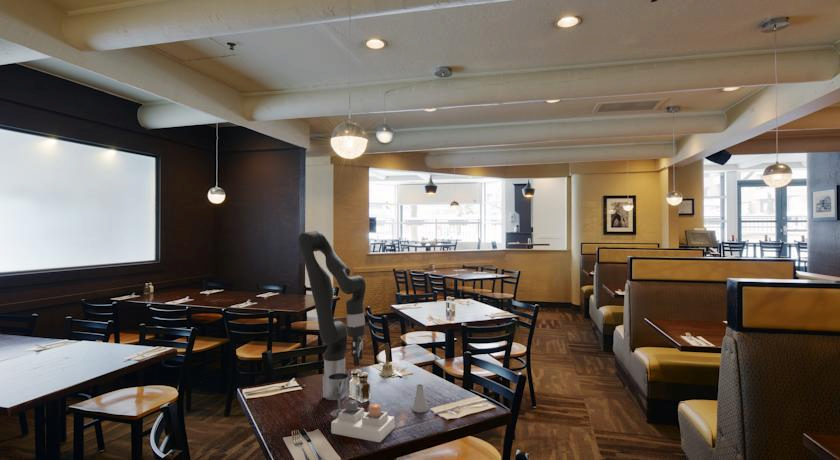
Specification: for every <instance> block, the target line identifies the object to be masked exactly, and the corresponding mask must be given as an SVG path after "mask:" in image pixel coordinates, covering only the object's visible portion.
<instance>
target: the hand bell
mask: <svg viewBox="0 0 840 460" xmlns="http://www.w3.org/2000/svg"><path fill="white" fill-rule="evenodd" d="M389 343H390V342H389ZM389 343H388V342H386V343H385V346H384V353H385V362H384V363H382V369H381V370H380V372H379V374H380V375H379V376H380V377H383V376H384V377H383V378H389V377H388V376H391V375H392V374H393V373H394V372H395V371H394V368H393V364H392V363H391V362H390V353H391V352H390V351H391V349H390V345H389ZM391 377H392V376H391Z"/></svg>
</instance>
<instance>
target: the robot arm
mask: <svg viewBox="0 0 840 460" xmlns="http://www.w3.org/2000/svg"><path fill="white" fill-rule="evenodd" d="M297 241H298V247H299V250H300V253H301V256H302V260H303V262H304V265H305V268H306V269H305V270H306V272H307V273H306V274H307V275H308V276H307V277H308V281H309V286H310V291H311V294H312V297H313V302H314V307H315V311H316V316H317V323H318V332H319V335H320V339H321V341H322V342H323V344H324V345H326V346H327V347H326V350H325V351H324V352H323V353H324V354H323V362H324V363H323V367H324V370H323V371H324V372H323V373H324V375H322V398H324V399H326V400H327V401H337V398H336V396H335V395H334V394H333V393H332V392H331V390H330V387H329V376H330V375H331V374H335V373H346V352H347V349H348V347H347V346H348V337H349V338H352V340H351V342H350V348H351V349H350V350H351V351H350V353H351V357H352V358H353V359H352V360H353V366H354V367H359V366H360V361H361V360H363V358H364V354H363V351H364V337H363V336H365V335H366V334H367V333H366V332H367V331H366V320H365V314H364V299H365V293H366V280H365V279H364V278H363V276H361V275H354V276H350V274H351V269H350V267H348V265H347V264H346V263H344V261H343V260H342V259H341V258H340V257H339V256H338V255H337V253H336V251H335V250H334V248H333V247H332V245H331V244H330V242H329V241H328V239H327V236H325V235H324V233H322V232H321V231H319V230H315V231H305V232H302V233H300V234H299V236H298V240H297ZM314 252H321V253H322V254H323V255H324V257H325V258H324V259H325V265H326V266H325V267H326V269H327V270H328V271H329V273H330V274H331V275H332V276H333V277H334V278H335V280H336V282H337V284H338V287H339V289H340V290H341V292H342V293H344V294H346V295H352V296H351V297H350V298H349V299H347V300H346V302H345V306H346V308H345V309H346V325H345V324H344V322H342V321H340V320H335V321H334V317H333V311H332V310H333V309H332V307H333V300H334V289H333V284H332V280H331V277H330V276H329V274H328V273H327V272H326V270H324V268H323V267H321V264H319V262H318V261H317V259H316V257H315V253H314ZM346 392H347V390H346V391H345V393H344V394H343V395H342V397H341V400H343V399H344V398H345V397H346V396H347V393H346Z"/></svg>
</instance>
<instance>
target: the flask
mask: <svg viewBox="0 0 840 460" xmlns="http://www.w3.org/2000/svg"><path fill="white" fill-rule="evenodd" d="M424 386H425V385H424V384H423V383H418V384H416V385H415V388H416V392H415V397H414V400H413V403H412V406H411V411H412V412H415V413H418V414H419V413H427V412H428V411H429V406H428V403H427V400H426V397H425V394H424Z"/></svg>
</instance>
